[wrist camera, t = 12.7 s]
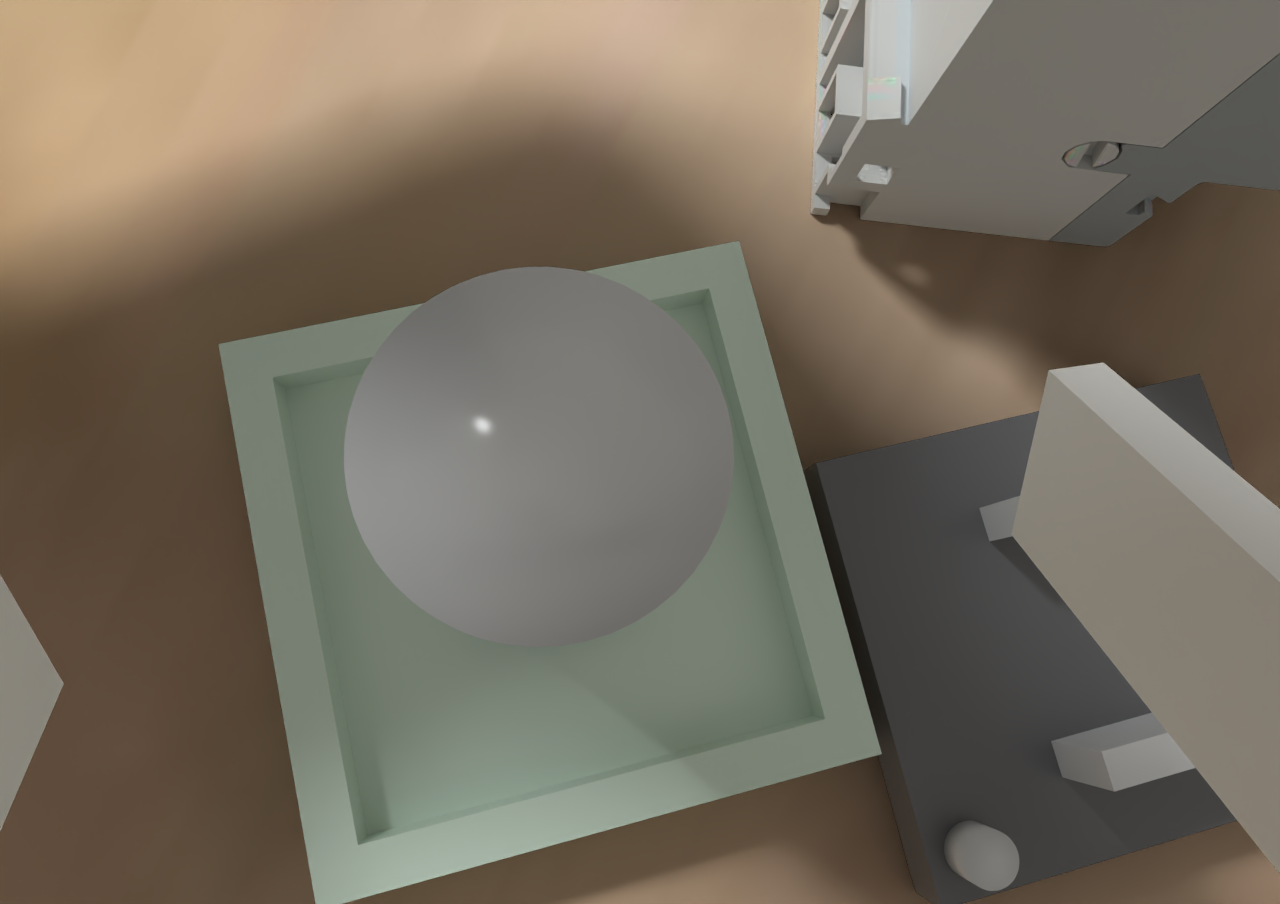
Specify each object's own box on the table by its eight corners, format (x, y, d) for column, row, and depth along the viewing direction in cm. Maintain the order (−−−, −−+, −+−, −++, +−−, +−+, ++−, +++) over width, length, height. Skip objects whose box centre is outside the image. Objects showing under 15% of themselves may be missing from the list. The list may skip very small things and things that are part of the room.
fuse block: (915, 891, 22) (983, 939, 18) (799, 474, 23) (841, 445, 20) (1297, 777, 23) (1426, 801, 20) (1161, 389, 25) (1259, 349, 21)
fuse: (478, 662, 21) (384, 690, 9) (441, 488, 22) (311, 305, 10) (652, 620, 21) (776, 594, 10) (611, 450, 22) (681, 235, 10)
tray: (339, 884, 21) (317, 910, 19) (247, 369, 23) (218, 343, 21) (853, 744, 22) (882, 754, 20) (724, 272, 24) (739, 240, 22)
